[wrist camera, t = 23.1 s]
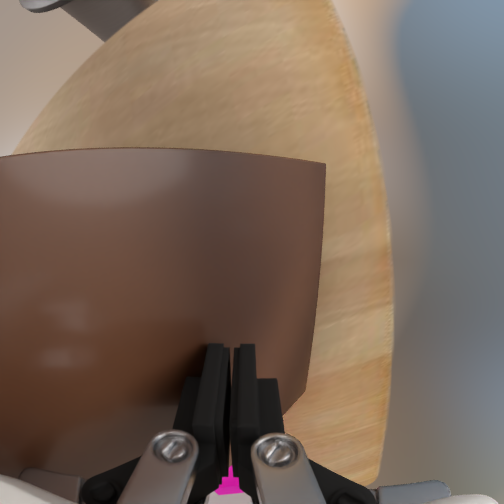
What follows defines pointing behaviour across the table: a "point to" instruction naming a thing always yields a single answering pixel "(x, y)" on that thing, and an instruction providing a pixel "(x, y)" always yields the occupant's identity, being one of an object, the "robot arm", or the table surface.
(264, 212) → the lid
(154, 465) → the robot arm
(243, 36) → the table surface
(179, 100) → the table surface
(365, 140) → the table surface
